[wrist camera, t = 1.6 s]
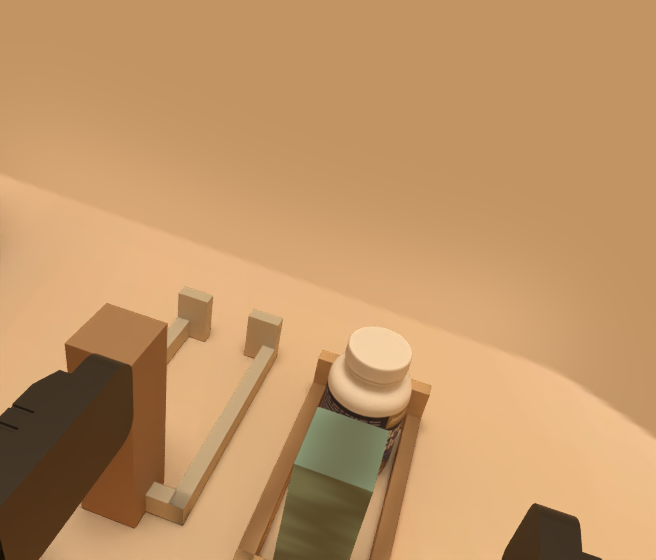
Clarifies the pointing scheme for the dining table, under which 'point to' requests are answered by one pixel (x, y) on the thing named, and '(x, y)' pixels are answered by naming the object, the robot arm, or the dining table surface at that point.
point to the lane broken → (163, 403)
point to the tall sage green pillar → (332, 480)
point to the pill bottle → (372, 381)
